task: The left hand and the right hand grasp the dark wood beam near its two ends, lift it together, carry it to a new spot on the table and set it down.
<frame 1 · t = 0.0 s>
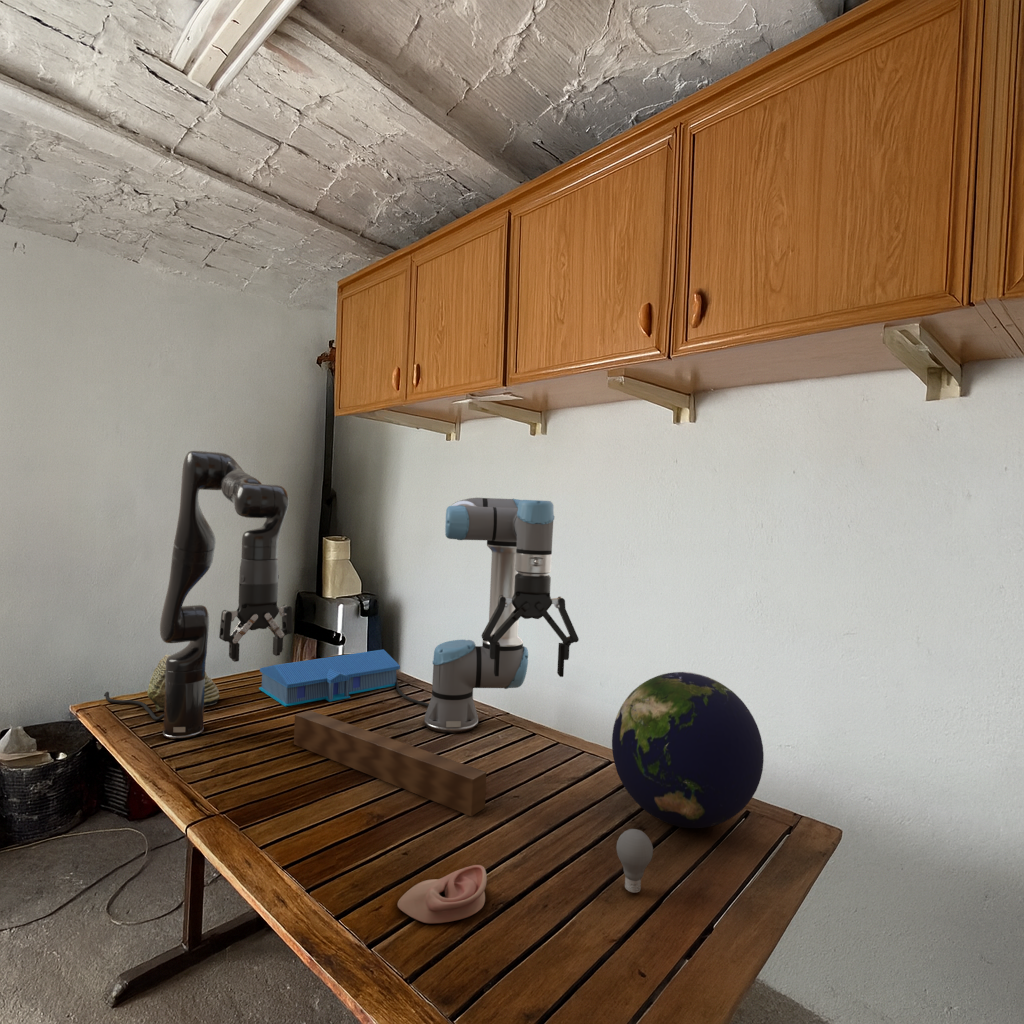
left hand: (256, 657, 132), 29 cm above the table, tool pointing down, fingers open, 8 cm apart
right hand: (528, 675, 133), 28 cm above the table, tool pointing down, fingers open, 13 cm apart
fossil: (183, 706, 185), on the table
light bulb: (632, 891, 106), on the table
anatomical model: (442, 902, 101), on the table
beam: (380, 773, 146), on the table
model building: (332, 688, 208), on the table
globe: (681, 820, 131), on the table
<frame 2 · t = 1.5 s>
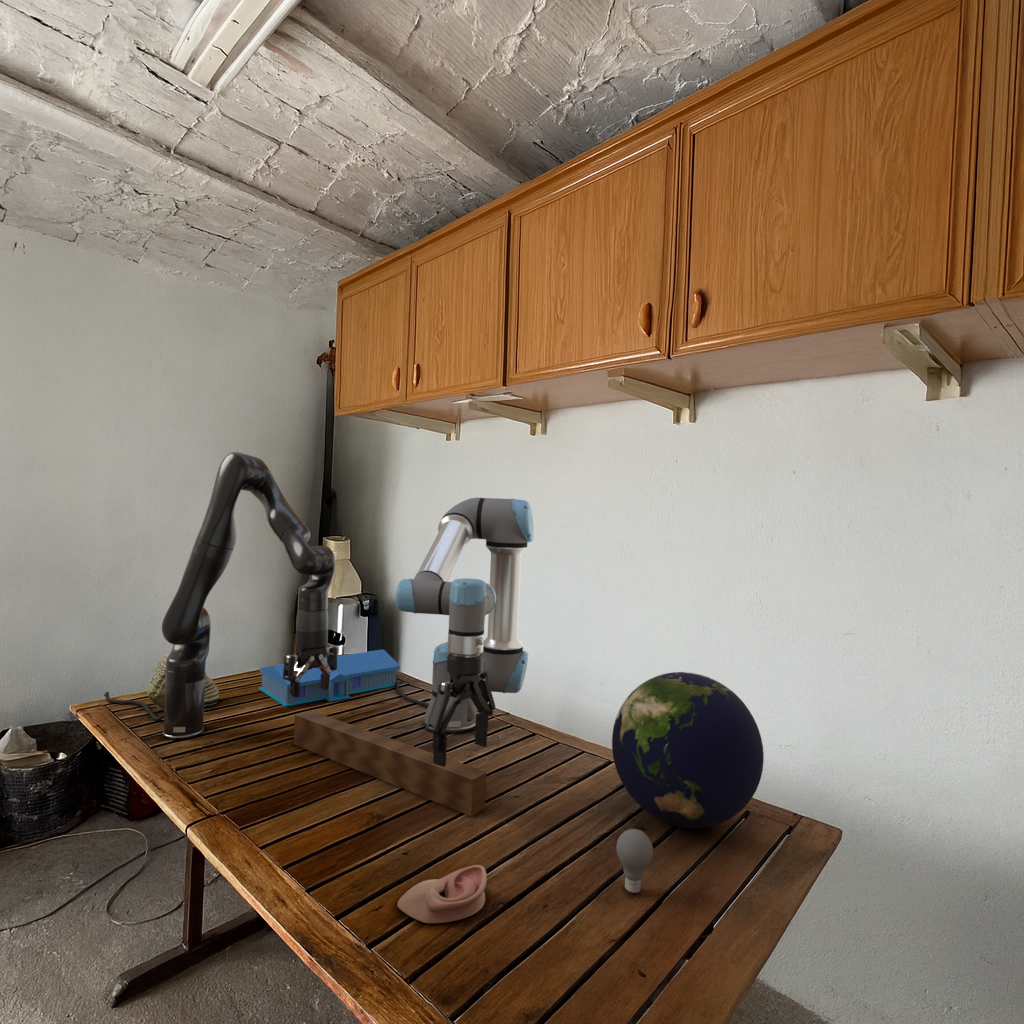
left hand: (310, 692, 156), 15 cm above the table, tool pointing down, fingers open, 8 cm apart
right hand: (460, 754, 133), 11 cm above the table, tool pointing down, fingers open, 13 cm apart
nothing on the table moved.
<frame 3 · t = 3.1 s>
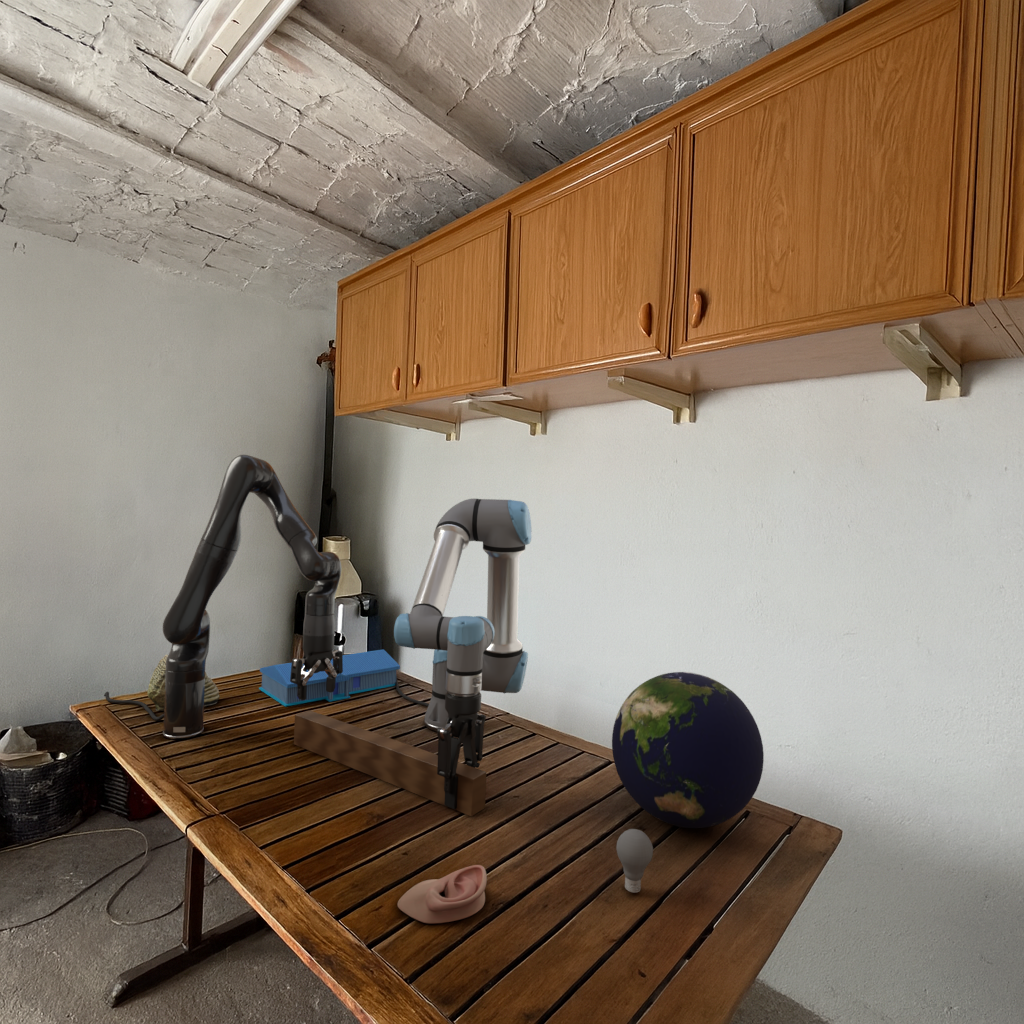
left hand: (316, 695, 159), 13 cm above the table, tool pointing down, fingers open, 8 cm apart
right hand: (458, 801, 133), 1 cm above the table, tool pointing down, fingers closed on beam, 5 cm apart
beam: (380, 773, 146), on the table, touching right hand
everything else where it was.
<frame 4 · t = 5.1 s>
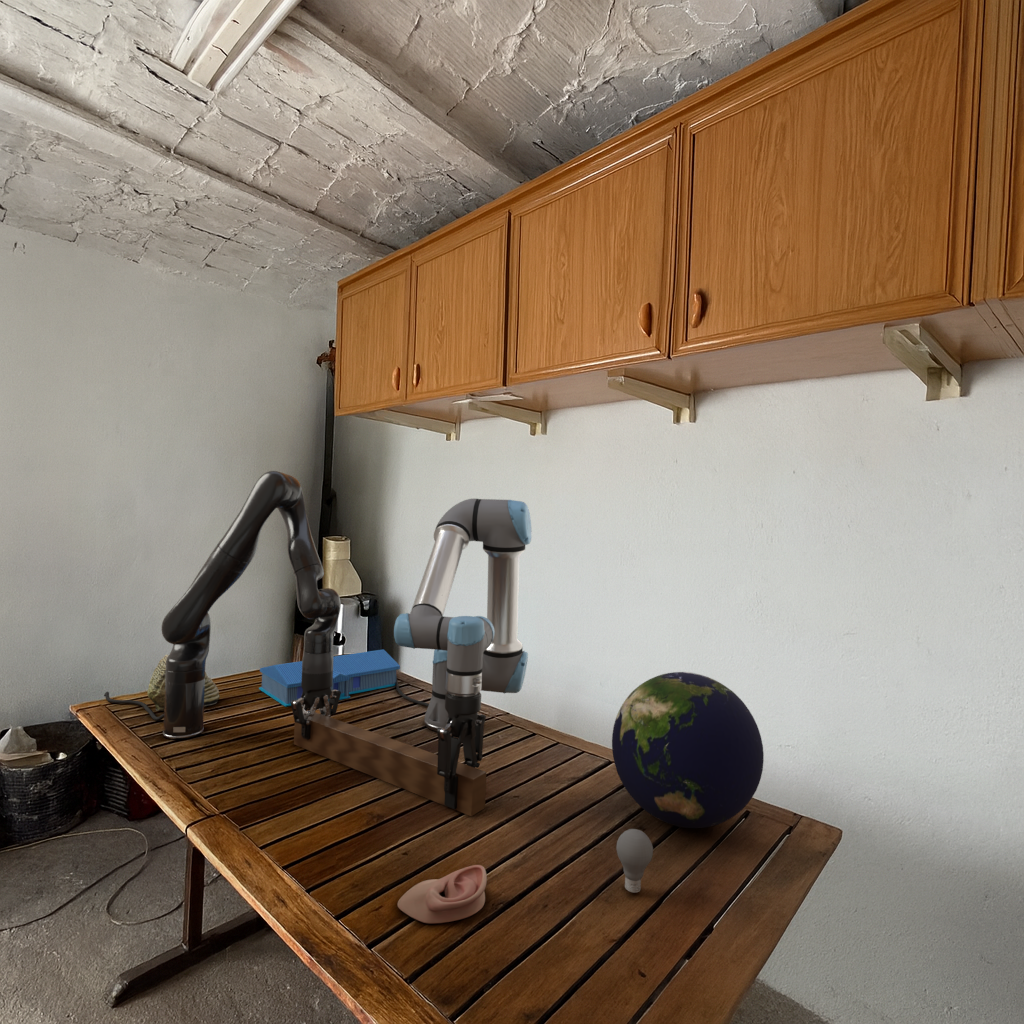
left hand: (315, 735, 160), 3 cm above the table, tool pointing down, fingers closed on beam, 4 cm apart
right hand: (458, 801, 133), 1 cm above the table, tool pointing down, fingers closed on beam, 5 cm apart
beam: (379, 773, 146), on the table, touching left hand, right hand
everything else where it was.
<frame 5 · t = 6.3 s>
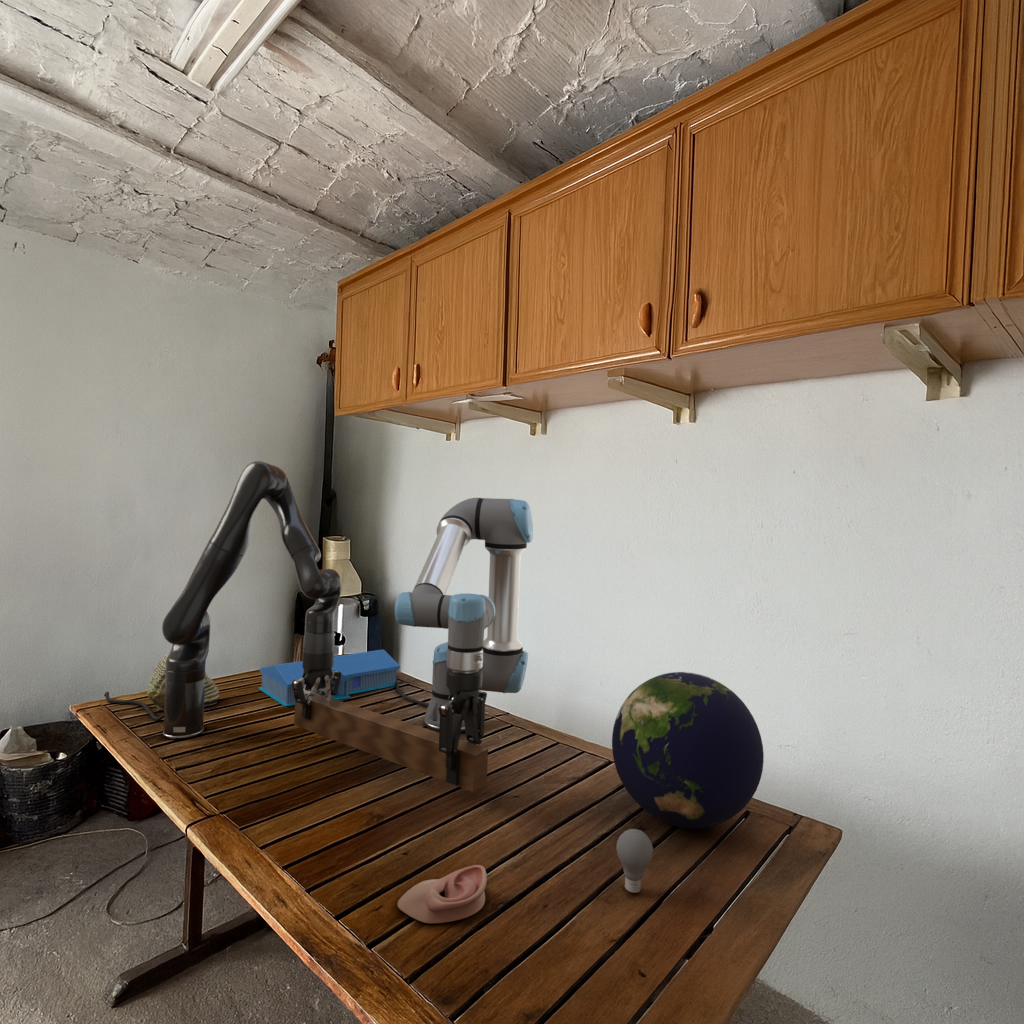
left hand: (315, 715, 160), 8 cm above the table, tool pointing down, fingers closed on beam, 4 cm apart
right hand: (460, 778, 133), 5 cm above the table, tool pointing down, fingers closed on beam, 5 cm apart
beam: (381, 752, 146), point 5 cm above the table, touching left hand, right hand
everything else where it was.
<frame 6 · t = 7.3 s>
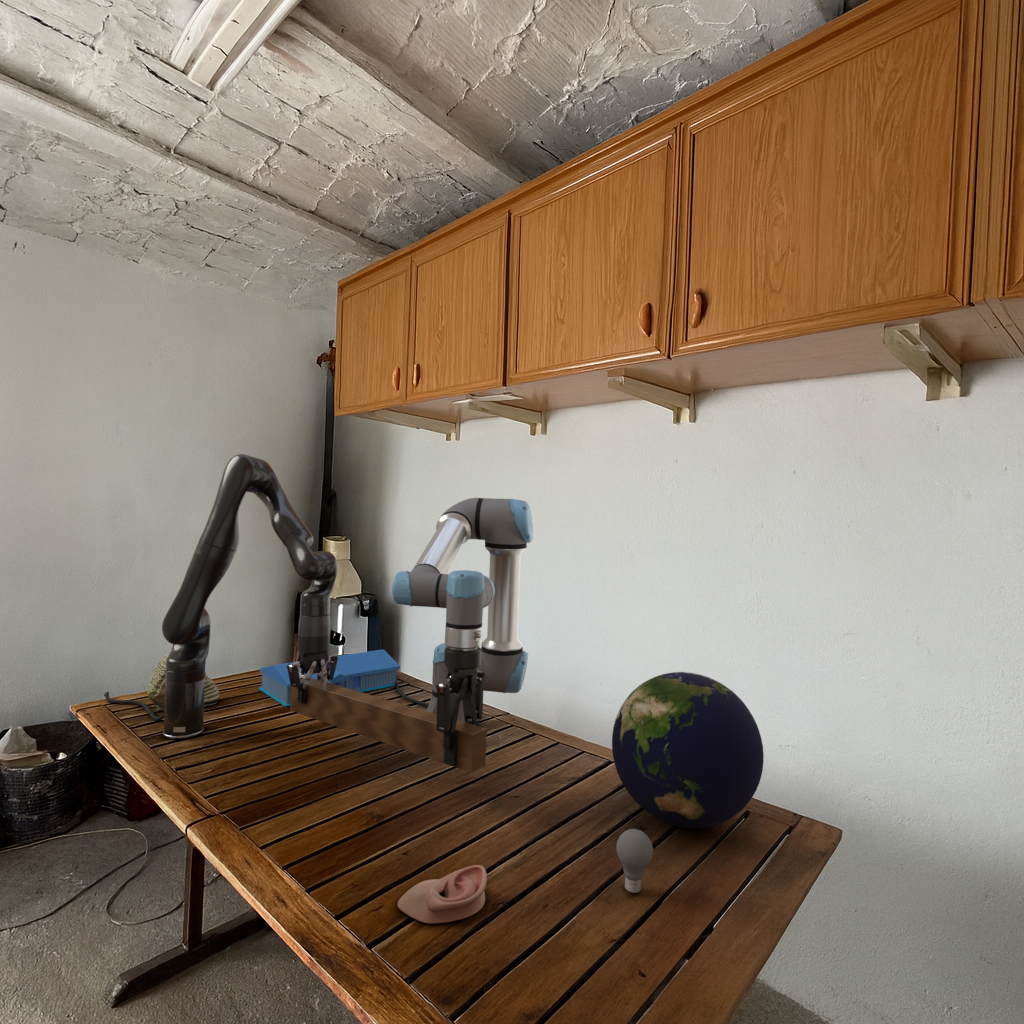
left hand: (311, 700, 157), 13 cm above the table, tool pointing down, fingers closed on beam, 4 cm apart
right hand: (458, 759, 130), 11 cm above the table, tool pointing down, fingers closed on beam, 5 cm apart
beam: (377, 735, 143), point 10 cm above the table, touching left hand, right hand
everything else where it was.
when the right hand's fingers open (2 cm above the table, at t = 9.6 s): beam drops 2 cm, on the table.
when the left hand's fingers open (5 cm above the table, at t = 9.8 s): beam stays where it is, on the table.
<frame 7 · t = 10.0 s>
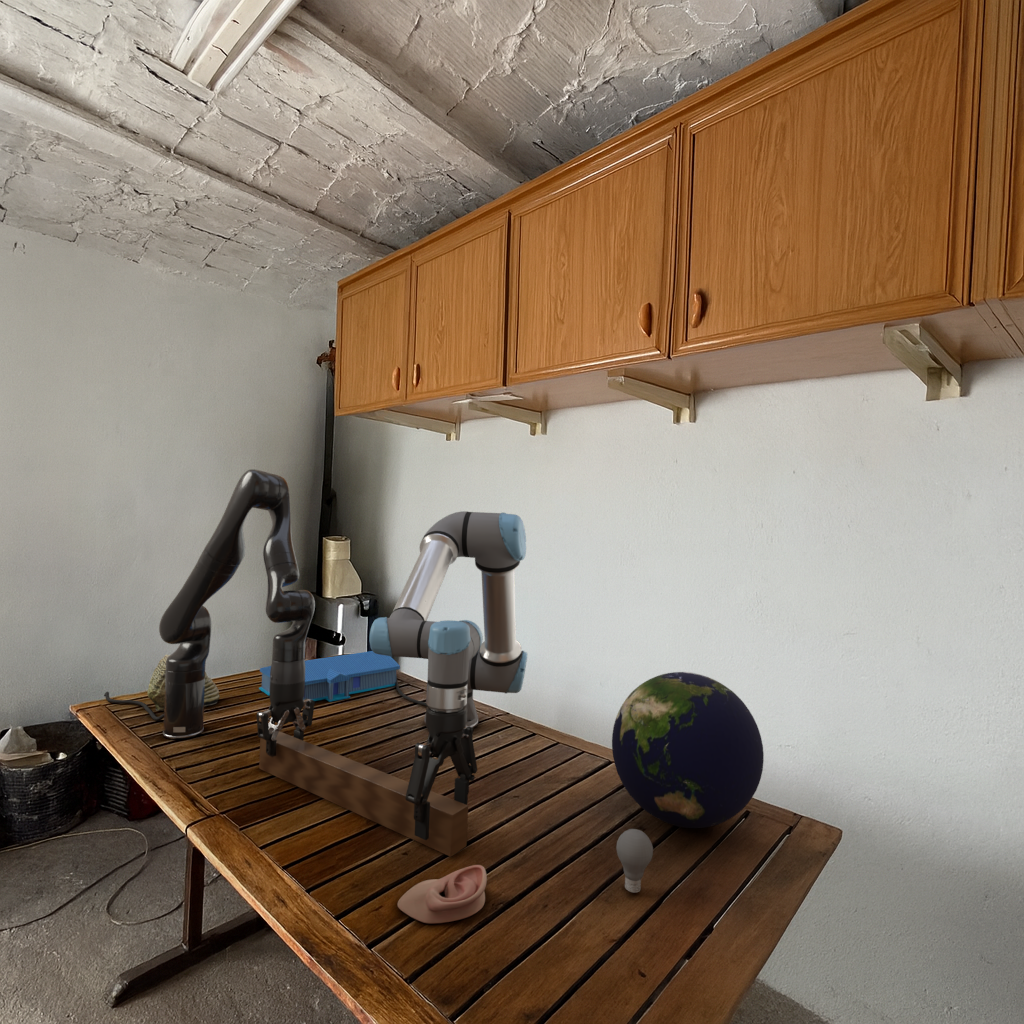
left hand: (284, 750, 144), 5 cm above the table, tool pointing down, fingers open, 6 cm apart
right hand: (441, 824, 118), 4 cm above the table, tool pointing down, fingers open, 10 cm apart
beam: (351, 803, 132), on the table
everything else where it was.
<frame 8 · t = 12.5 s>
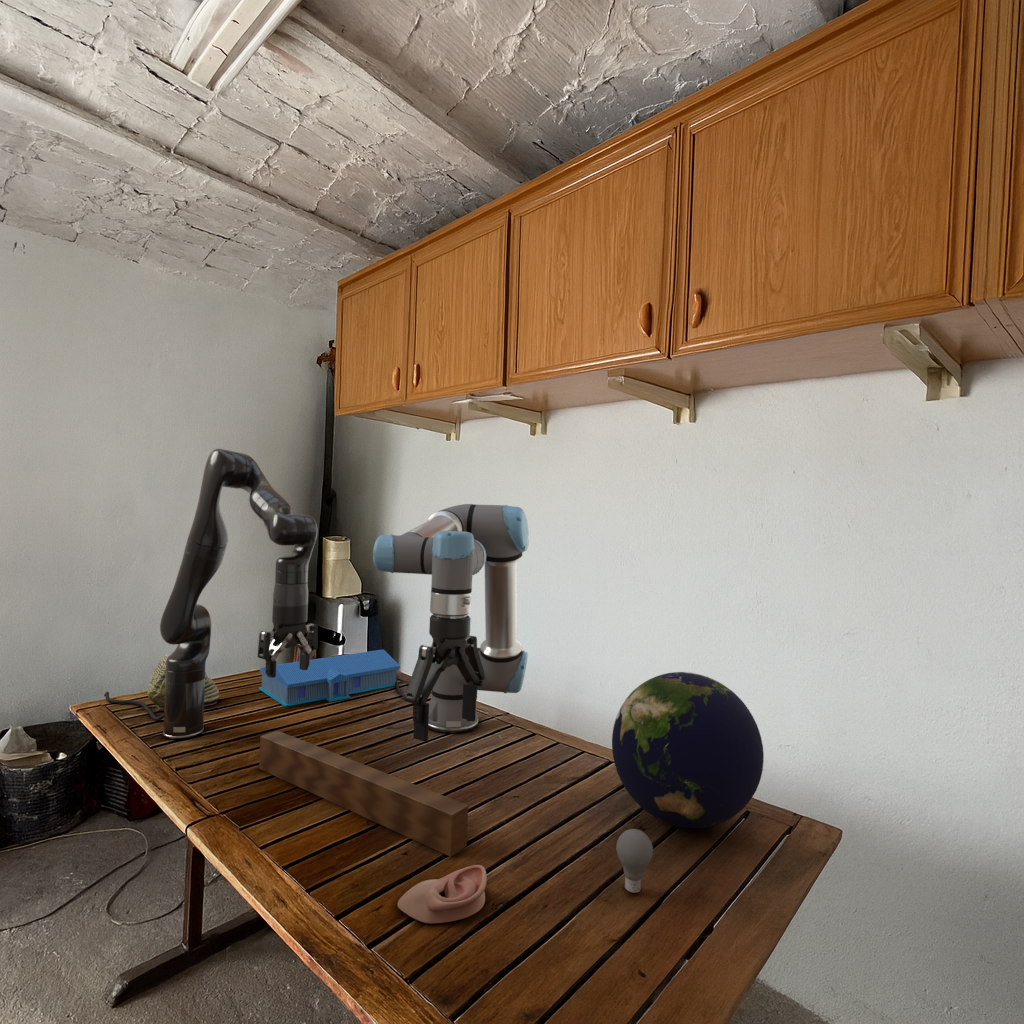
left hand: (287, 673, 144), 23 cm above the table, tool pointing down, fingers open, 8 cm apart
right hand: (445, 729, 117), 21 cm above the table, tool pointing down, fingers open, 13 cm apart
nothing on the table moved.
at the end: beam inside the target area (1.0 cm from its centre), on the table; beam tilted 0°; beam never tilted more than 2° during the clip; both hands held the beam at the same time; the left hand is holding nothing; the right hand is holding nothing; beam at rest at the end (0.0 cm/s) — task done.
